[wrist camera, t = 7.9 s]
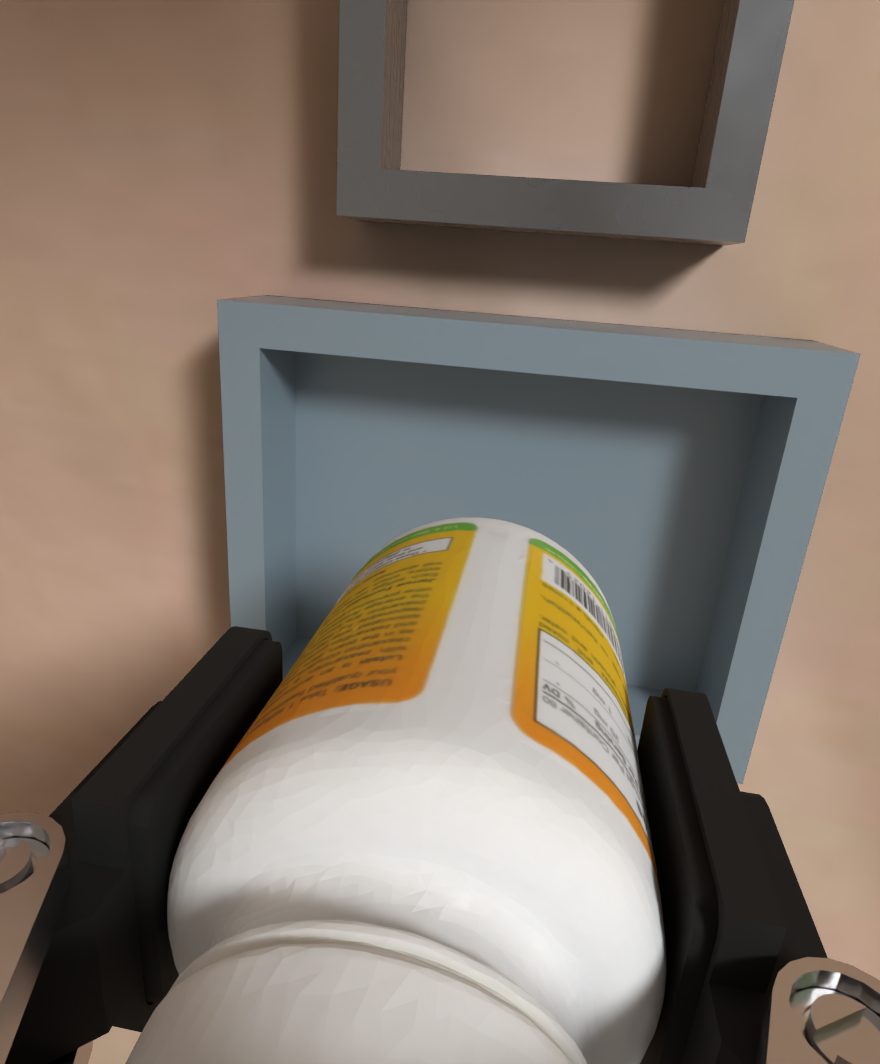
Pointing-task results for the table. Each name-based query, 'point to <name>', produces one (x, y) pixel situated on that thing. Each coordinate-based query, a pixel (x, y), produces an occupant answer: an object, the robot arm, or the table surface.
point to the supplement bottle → (428, 832)
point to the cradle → (553, 204)
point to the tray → (535, 470)
